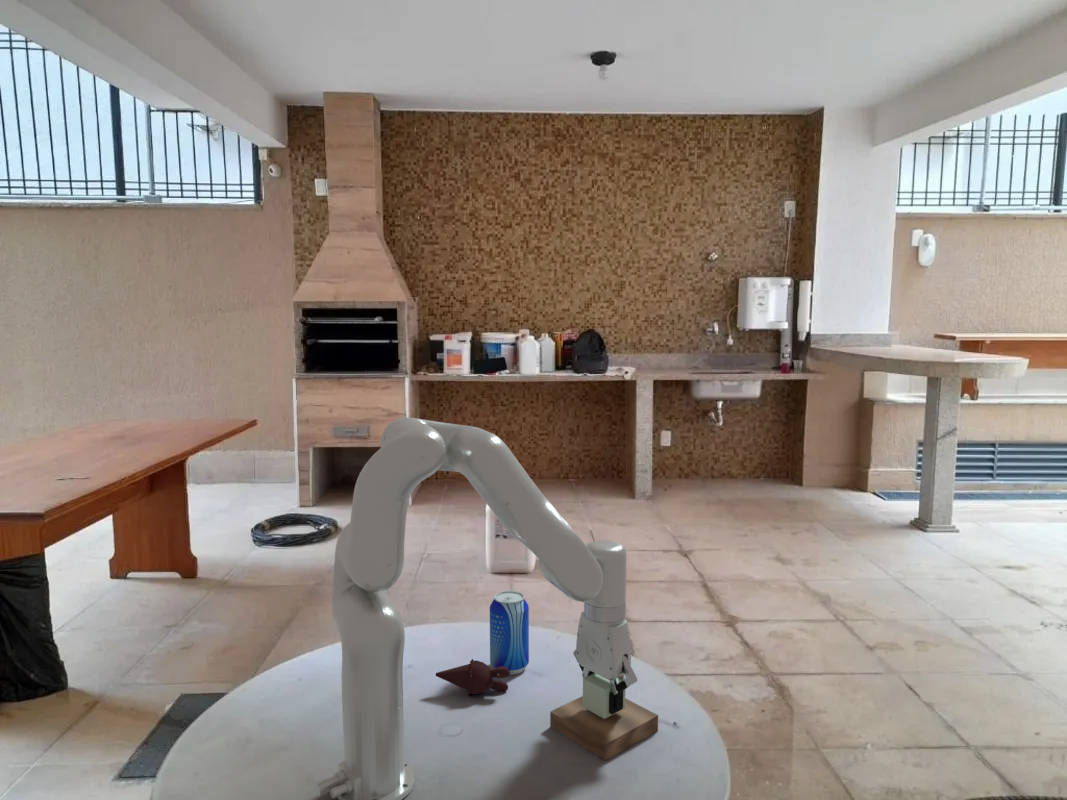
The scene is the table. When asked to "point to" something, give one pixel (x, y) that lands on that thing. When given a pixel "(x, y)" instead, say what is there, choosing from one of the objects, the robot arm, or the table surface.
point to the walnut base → (604, 727)
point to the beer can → (509, 631)
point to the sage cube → (598, 695)
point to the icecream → (476, 677)
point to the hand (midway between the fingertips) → (603, 703)
